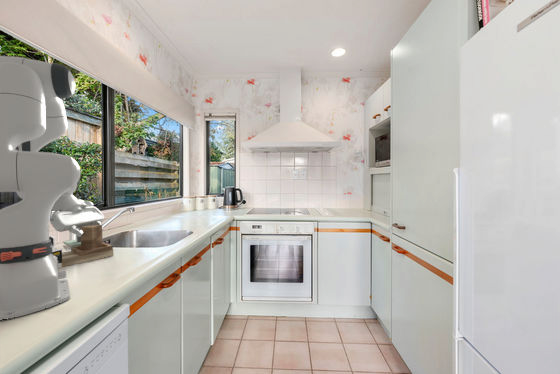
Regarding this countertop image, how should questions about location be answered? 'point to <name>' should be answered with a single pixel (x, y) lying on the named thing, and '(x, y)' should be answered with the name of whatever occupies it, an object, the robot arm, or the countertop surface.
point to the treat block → (91, 237)
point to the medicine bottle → (56, 250)
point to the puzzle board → (85, 254)
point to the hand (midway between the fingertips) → (92, 233)
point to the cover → (73, 242)
